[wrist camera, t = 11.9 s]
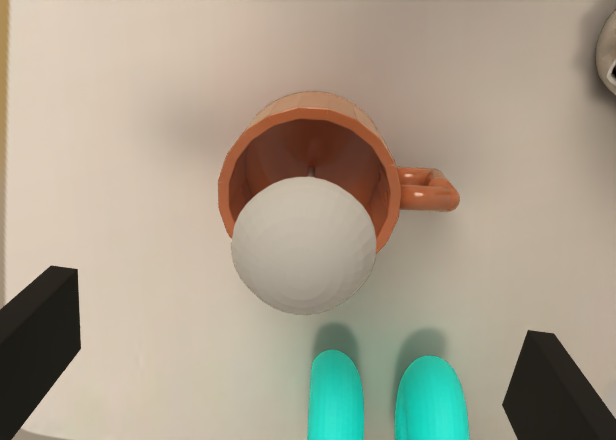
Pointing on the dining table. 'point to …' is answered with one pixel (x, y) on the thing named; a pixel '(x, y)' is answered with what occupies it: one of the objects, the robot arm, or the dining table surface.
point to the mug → (327, 161)
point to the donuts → (409, 404)
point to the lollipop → (303, 245)
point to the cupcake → (607, 53)
